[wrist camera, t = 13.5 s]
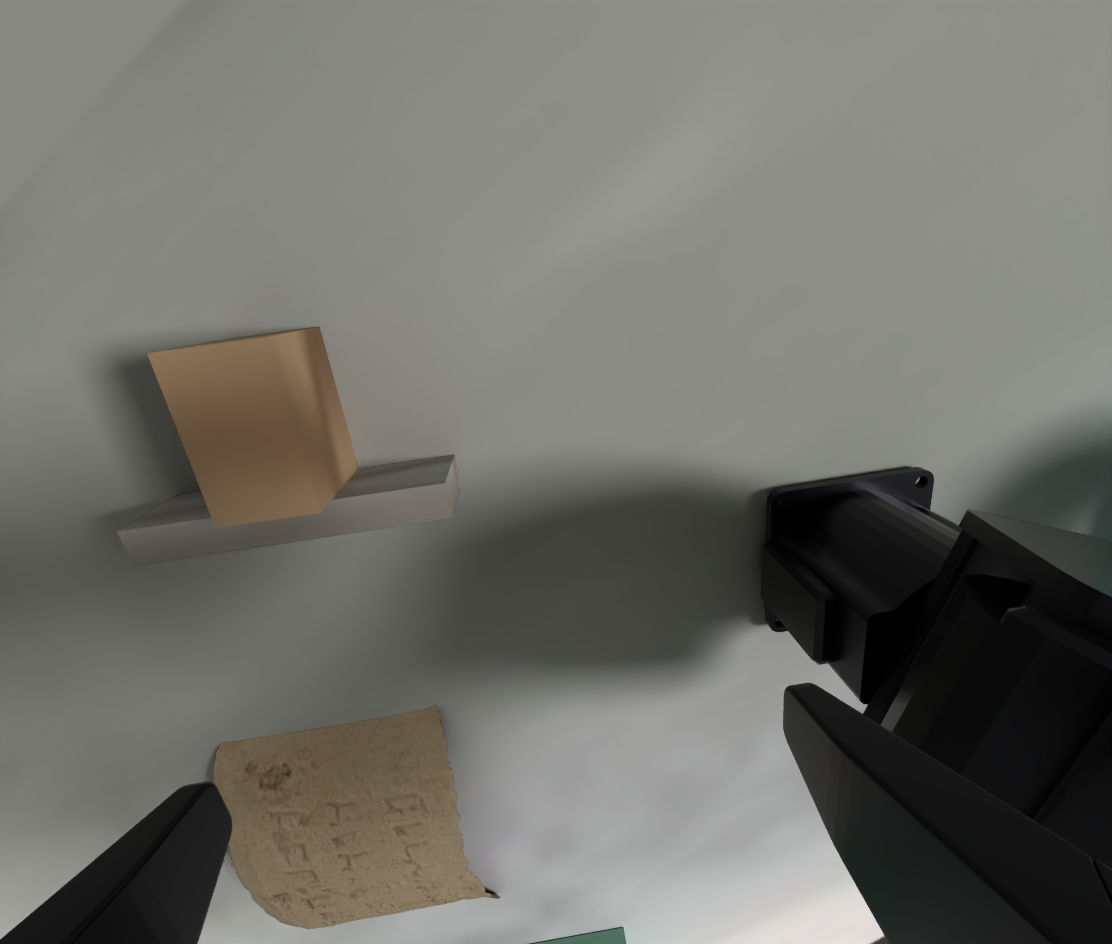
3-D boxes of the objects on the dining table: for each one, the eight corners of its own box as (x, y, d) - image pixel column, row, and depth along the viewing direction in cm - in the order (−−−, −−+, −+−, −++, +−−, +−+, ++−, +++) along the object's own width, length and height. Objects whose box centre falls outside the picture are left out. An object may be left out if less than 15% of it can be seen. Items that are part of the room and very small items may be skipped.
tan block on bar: (119, 353, 17) (5, 372, 13) (425, 312, 17) (402, 318, 13) (189, 524, 19) (109, 583, 15) (460, 484, 19) (449, 531, 15)
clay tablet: (506, 887, 28) (506, 948, 25) (320, 927, 27) (301, 992, 25) (436, 675, 23) (427, 724, 20) (209, 722, 23) (170, 777, 20)
